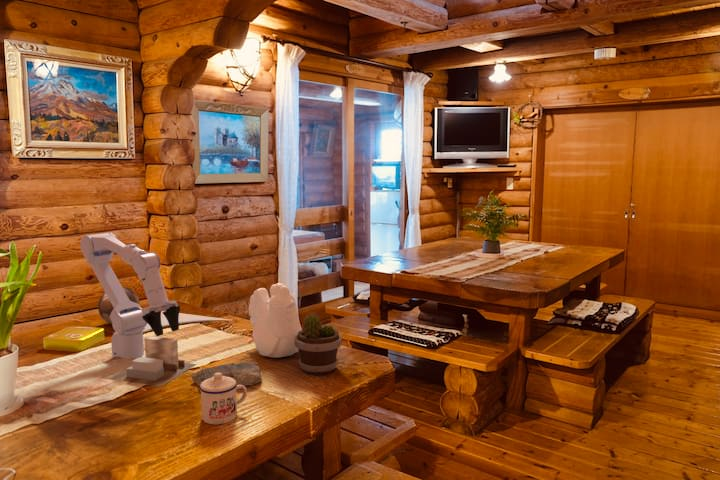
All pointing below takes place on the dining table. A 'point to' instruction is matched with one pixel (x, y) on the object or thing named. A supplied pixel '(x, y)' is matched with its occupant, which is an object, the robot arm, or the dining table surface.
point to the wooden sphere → (107, 307)
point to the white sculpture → (274, 321)
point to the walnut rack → (169, 374)
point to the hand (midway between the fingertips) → (168, 333)
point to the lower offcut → (144, 374)
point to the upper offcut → (147, 364)
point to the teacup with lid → (220, 399)
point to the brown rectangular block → (162, 349)
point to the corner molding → (185, 320)
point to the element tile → (74, 338)
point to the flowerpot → (317, 346)
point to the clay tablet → (232, 373)
